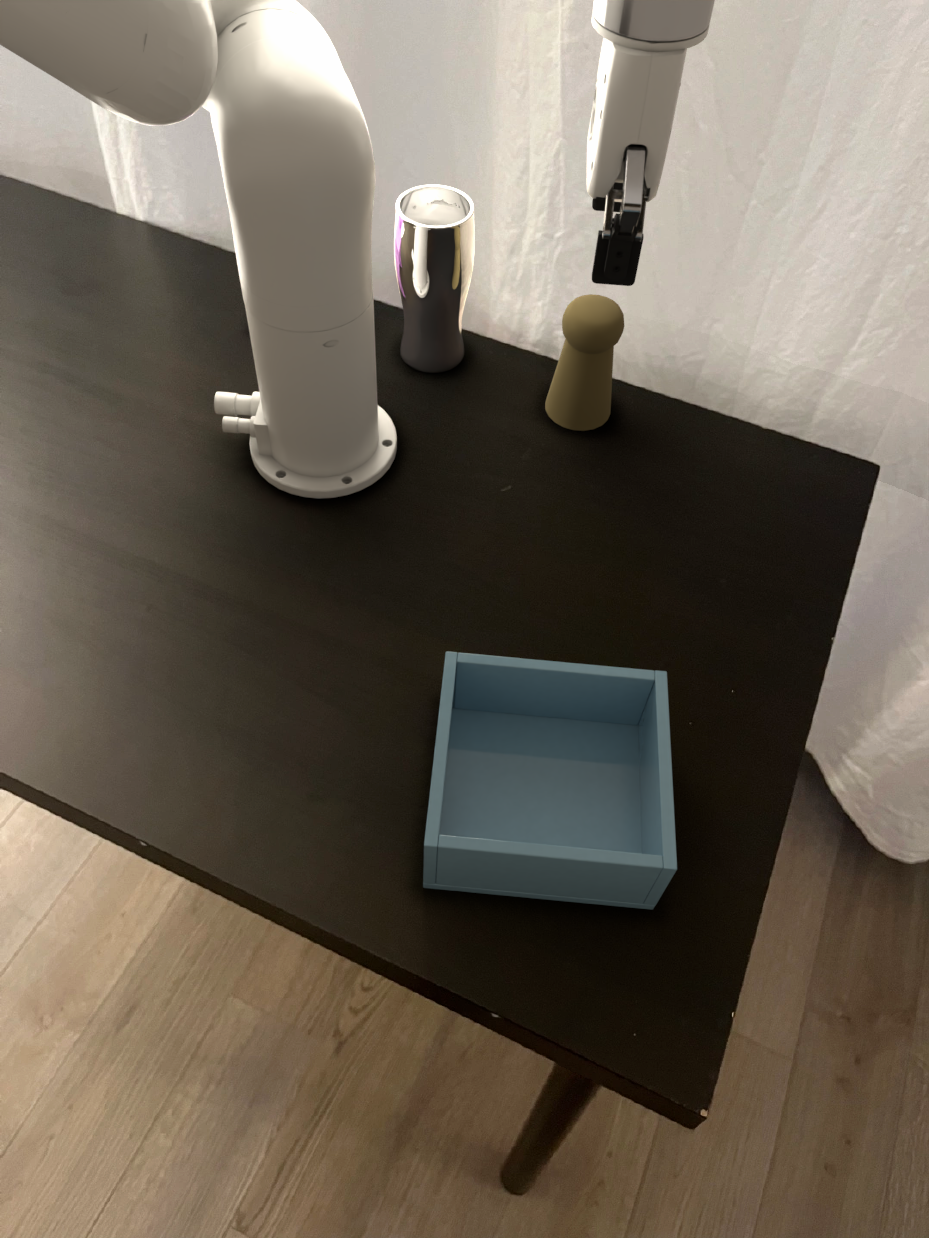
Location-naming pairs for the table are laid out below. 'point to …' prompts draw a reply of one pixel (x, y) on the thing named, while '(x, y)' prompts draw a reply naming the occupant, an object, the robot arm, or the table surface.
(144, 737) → the table surface
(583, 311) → the tan pawn
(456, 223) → the beer glass
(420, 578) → the table surface
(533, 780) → the blue open box
